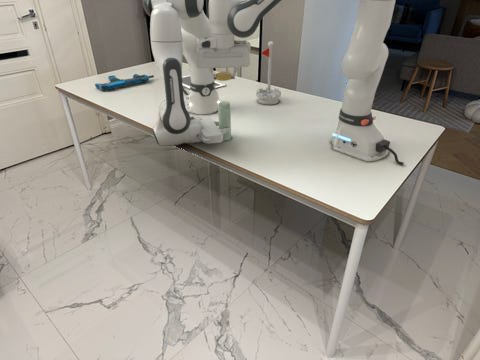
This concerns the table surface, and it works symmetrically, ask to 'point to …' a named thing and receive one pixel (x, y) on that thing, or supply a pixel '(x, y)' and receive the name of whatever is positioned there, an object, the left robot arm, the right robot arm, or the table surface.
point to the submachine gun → (122, 82)
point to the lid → (223, 76)
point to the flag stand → (268, 94)
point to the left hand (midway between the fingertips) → (226, 126)
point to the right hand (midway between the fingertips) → (223, 79)
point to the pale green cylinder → (224, 118)
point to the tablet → (187, 80)
